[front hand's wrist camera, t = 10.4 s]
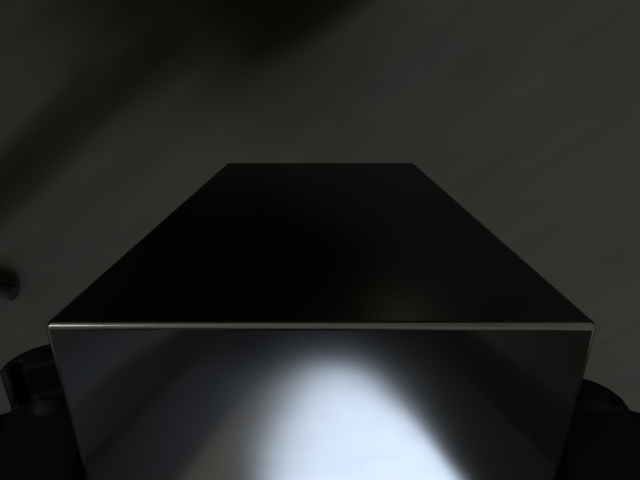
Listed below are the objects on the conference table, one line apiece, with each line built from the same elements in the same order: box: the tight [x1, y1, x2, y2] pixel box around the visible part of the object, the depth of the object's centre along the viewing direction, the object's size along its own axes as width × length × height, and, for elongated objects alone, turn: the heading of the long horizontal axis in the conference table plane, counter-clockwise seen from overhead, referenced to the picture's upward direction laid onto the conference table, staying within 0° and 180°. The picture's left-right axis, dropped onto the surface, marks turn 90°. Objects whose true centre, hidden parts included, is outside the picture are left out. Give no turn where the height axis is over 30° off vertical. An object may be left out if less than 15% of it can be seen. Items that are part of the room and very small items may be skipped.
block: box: [46, 163, 596, 480], centre depth 11 cm, size 7×7×11 cm
